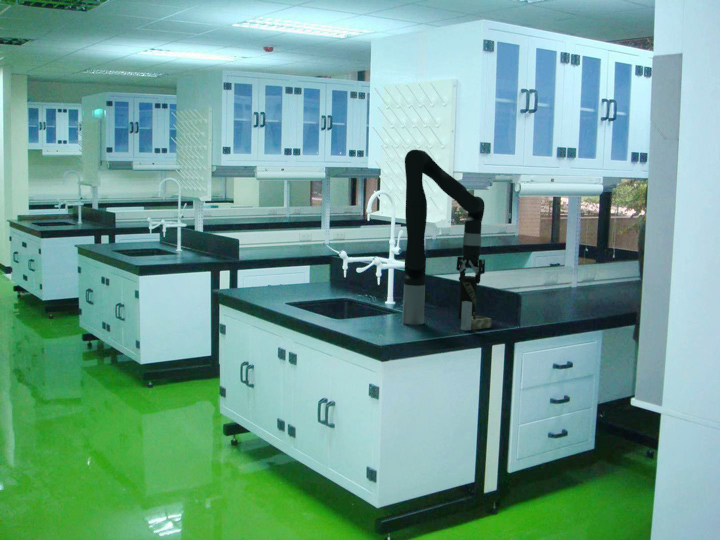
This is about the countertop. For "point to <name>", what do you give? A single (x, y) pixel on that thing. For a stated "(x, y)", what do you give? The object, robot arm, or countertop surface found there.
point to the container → (467, 293)
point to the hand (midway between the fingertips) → (469, 282)
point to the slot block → (480, 322)
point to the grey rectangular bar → (466, 315)
